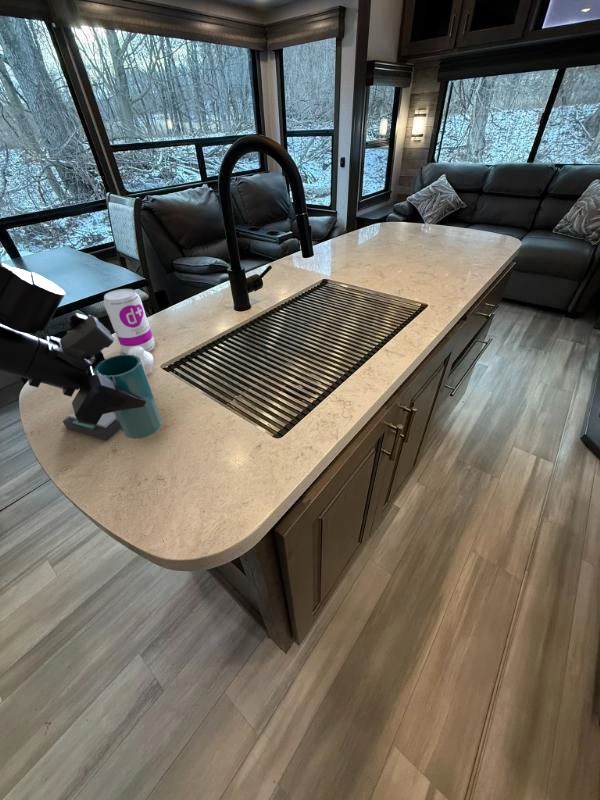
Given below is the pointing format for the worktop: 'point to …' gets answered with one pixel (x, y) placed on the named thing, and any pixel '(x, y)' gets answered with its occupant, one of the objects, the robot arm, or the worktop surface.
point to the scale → (102, 430)
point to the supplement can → (129, 319)
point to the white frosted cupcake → (143, 358)
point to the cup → (134, 381)
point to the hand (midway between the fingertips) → (139, 393)
